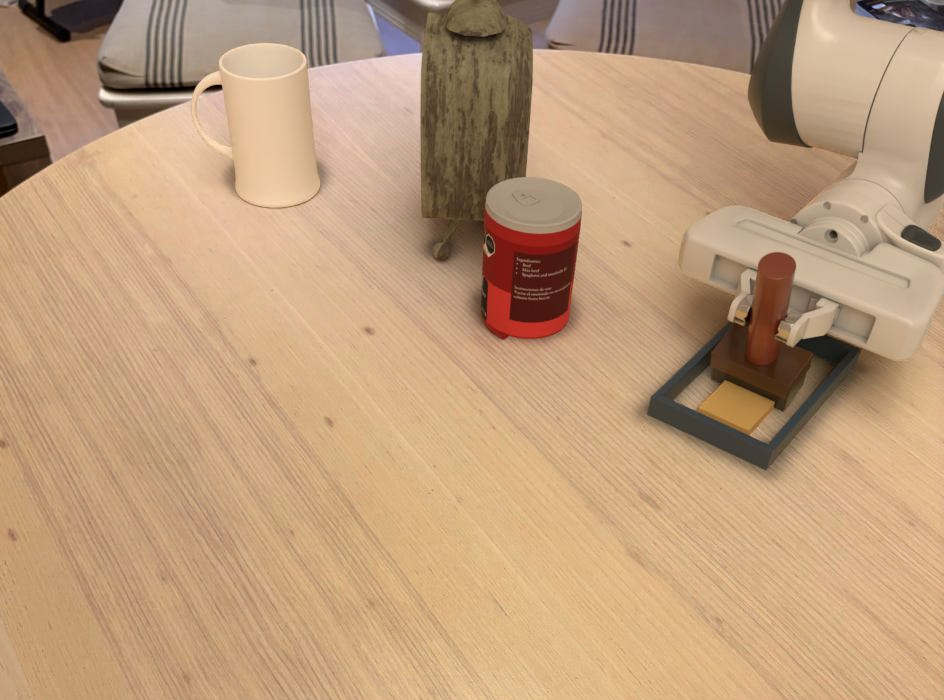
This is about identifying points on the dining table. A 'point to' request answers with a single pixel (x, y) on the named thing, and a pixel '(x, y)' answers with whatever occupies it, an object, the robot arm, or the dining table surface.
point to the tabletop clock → (472, 109)
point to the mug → (266, 123)
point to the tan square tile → (736, 407)
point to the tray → (730, 437)
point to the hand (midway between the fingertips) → (761, 325)
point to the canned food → (529, 257)
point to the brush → (764, 339)
